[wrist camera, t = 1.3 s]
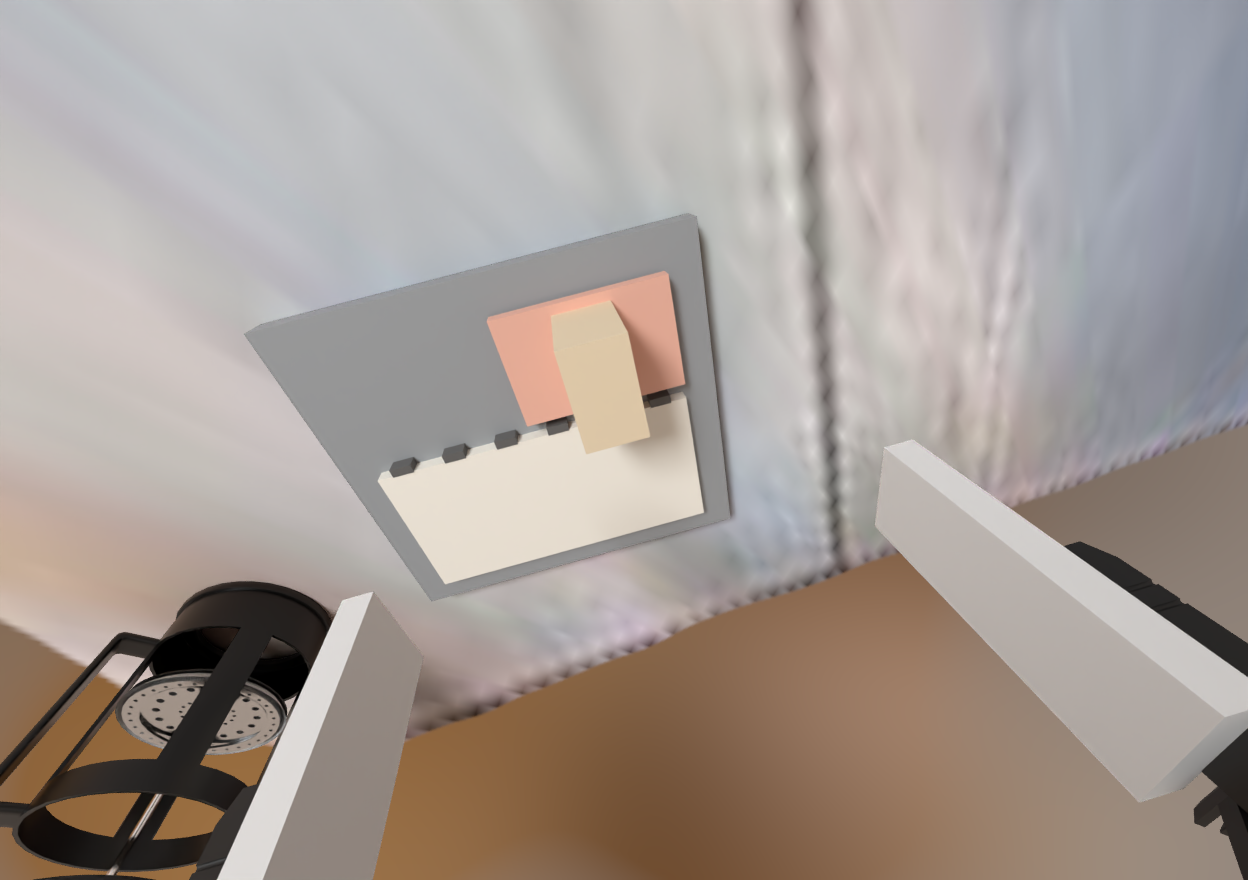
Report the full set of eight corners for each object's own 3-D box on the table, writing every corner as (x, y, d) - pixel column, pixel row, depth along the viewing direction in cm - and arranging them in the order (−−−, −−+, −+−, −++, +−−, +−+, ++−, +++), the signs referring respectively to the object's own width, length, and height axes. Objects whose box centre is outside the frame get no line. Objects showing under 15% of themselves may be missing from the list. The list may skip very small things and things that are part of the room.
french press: (364, 609, 33) (122, 1230, 14) (314, 679, 36) (59, 1268, 17) (171, 553, 28) (-629, 1404, 9) (132, 640, 31) (-527, 1415, 12)
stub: (664, 270, 22) (699, 300, 18) (681, 378, 26) (715, 428, 21) (487, 317, 22) (474, 360, 17) (527, 419, 25) (525, 480, 21)
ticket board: (687, 213, 23) (701, 218, 21) (723, 505, 34) (734, 526, 32) (260, 324, 22) (233, 339, 20) (435, 584, 33) (428, 611, 31)
